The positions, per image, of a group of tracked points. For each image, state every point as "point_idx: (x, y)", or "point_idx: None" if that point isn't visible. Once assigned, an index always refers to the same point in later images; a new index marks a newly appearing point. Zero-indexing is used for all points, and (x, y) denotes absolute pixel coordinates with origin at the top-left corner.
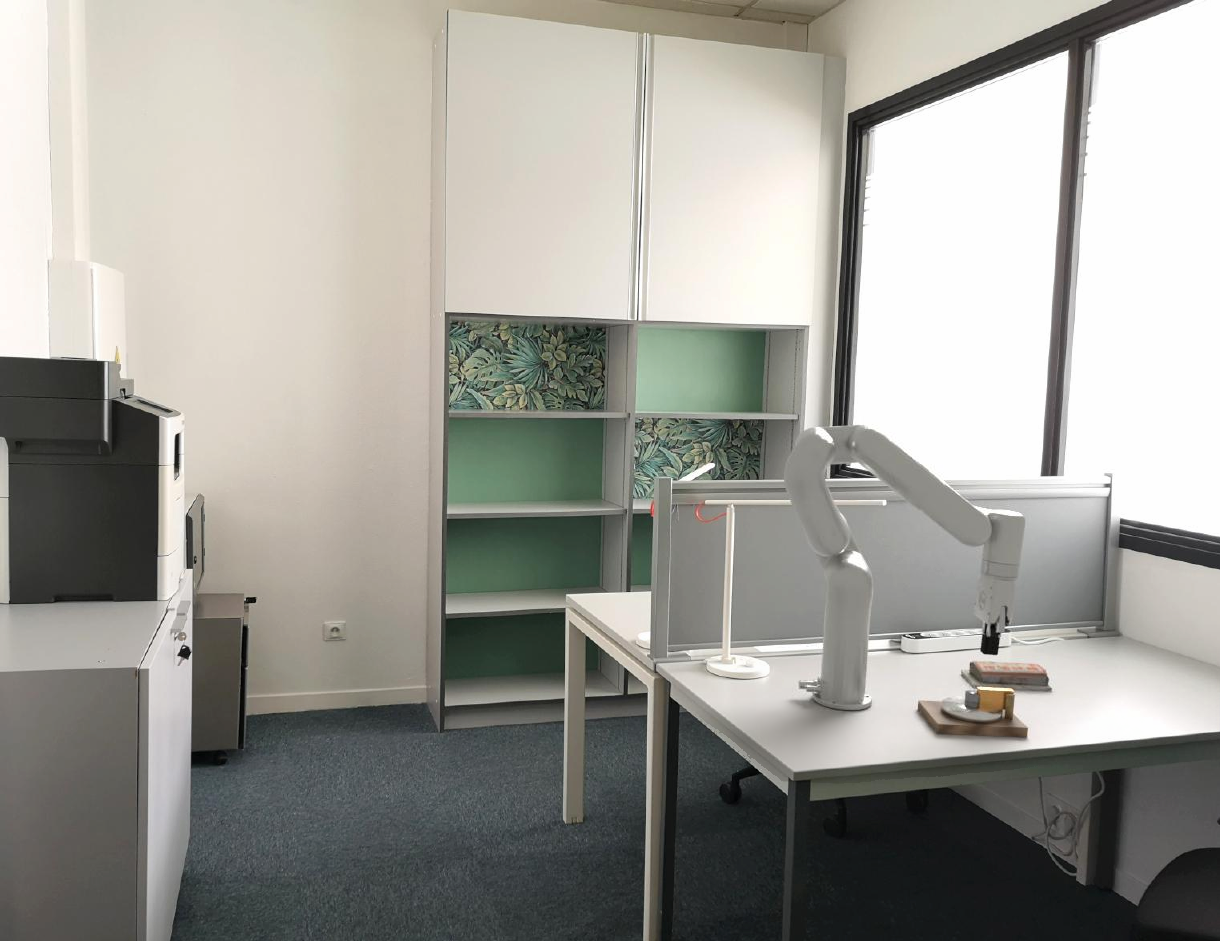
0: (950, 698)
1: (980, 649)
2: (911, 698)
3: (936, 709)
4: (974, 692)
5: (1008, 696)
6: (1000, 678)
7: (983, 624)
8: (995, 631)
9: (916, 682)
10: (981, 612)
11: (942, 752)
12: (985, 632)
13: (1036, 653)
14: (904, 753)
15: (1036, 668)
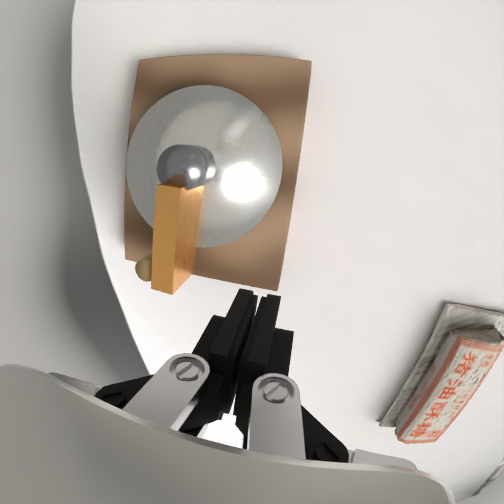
0: (266, 130)
1: (279, 299)
2: (396, 94)
3: (234, 81)
4: (179, 174)
5: (140, 260)
6: (434, 367)
7: (283, 430)
8: (96, 387)
9: (496, 180)
10: (132, 502)
11: (79, 61)
12: (254, 386)
13: (495, 441)
14: (87, 8)
15: (418, 435)
